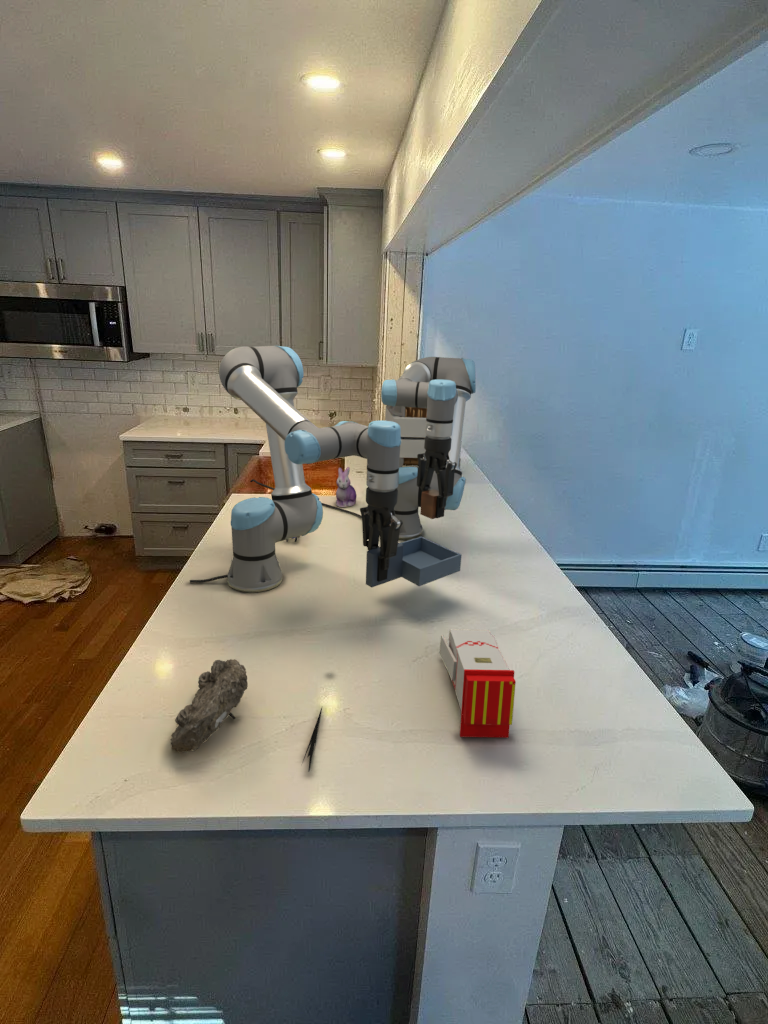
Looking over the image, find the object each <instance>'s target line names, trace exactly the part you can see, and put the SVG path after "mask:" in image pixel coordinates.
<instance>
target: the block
mask: <svg viewBox="0 0 768 1024" xmlns="http://www.w3.org/2000/svg"><path fill="white" fill-rule="evenodd" d="M438 495H439V491H438V490H435V489H432V490H428V491H424V492H422V497H421V507H420V511H419V514H420V515H421V516H423V517H425V518H428V519H431V520H434V519H435V520H436V518H435V515H436V502H437V496H438ZM444 511H446V510H445V507H444Z"/></svg>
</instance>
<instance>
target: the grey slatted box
mask: <svg viewBox="0 0 768 1024" xmlns="http://www.w3.org/2000/svg"><path fill="white" fill-rule="evenodd" d="M384 414H385V416H384V421H392V422H396V423H398V424H399V425H400V428H401V445H400V458H399V468H400V467H416V466H417V467H418V457H417V455H418V454H421V453H425V451H426V450H425V449H424V443H425V437H426V436H427V435H426V434H425V430H426V418H427V408H416V407H401V406H394V407H393V406H389V405H385V413H384ZM463 431H464V430H463ZM463 431H462V433H463ZM462 443H463V442H462V440H461V444H462ZM461 452H462V447H461V448H460V455H461ZM461 462H462V458H461V456H460V457H459V466H458V467H459V469H460V470H461Z"/></svg>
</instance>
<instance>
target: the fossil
mask: <svg viewBox="0 0 768 1024" xmlns="http://www.w3.org/2000/svg"><path fill="white" fill-rule="evenodd" d="M197 683H198V684H197V687H198V690H197V691H196V693H195V694H194V697H193V698H192V701H191V704H187V705H185V706H184V707H183V708H182V709H181V710H179V712H178V713H177V715H176V717H175V719H174V721H175V723H176V725H177V726H176V728H175V730H174V731H173V732H172V733H171V735H170V736H171V738H170V747H171V750H172V751H176V752H178V753H186V752H190V751H193V752H195V751H197V750H198V749H199V748H200V747H201V746H202V745H203V744H204V743H205V742H207V741H208V740H209V739H210V737H211V736H212V735H213V734H215V733H216V731H218V730H219V729H220V728H221V726H222V725H223V723H224V721H225V720H226V719H227V718H228V717H230V718H232V720H235V719H236V716H235V715H234V714H233V713H232V710H233V709H235V708H237V706H238V705H239V704H240V702H241V700H242V698H243V696H244V693H245V691H246V690H247V689H248V686H249V685H248V675H247V669H246V668H245V666H244V665H243V664H241V663H240V661H238V660H237V659H236V658H234V659H232V658H230V659H226V660H221V659H216V660H214V661H213V662H212V665H211V667H210V671H208V670H207V671H205V672H201V674H200V675H199V676H198V681H197Z"/></svg>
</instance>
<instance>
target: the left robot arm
mask: <svg viewBox="0 0 768 1024" xmlns="http://www.w3.org/2000/svg"><path fill="white" fill-rule="evenodd" d="M218 375H219V376H218V377H219V380H220V383H221V385H222V387H223V389H224V390H225V391H226V393H228V394H229V396H231V397H232V398H233V399H234V400H238V401H242V402H243V403H244V404H245V405H246V406H247V407H248V408H249V409H250V410H251V411H252V412H253V413H254V414H256V415H257V416H258V417H259V418H260V420H262V421H263V423H265V427H266V434H267V440H268V447H269V453H270V461H271V466H272V473H273V480H274V486H275V487H274V488H275V489H274V490H272V492H271V493H270V495H271V498H269V497H264V496H258V497H249V498H246V499H243V500H241V501H239V502H236V504H235V505H234V506H233V507H232V509H231V512H230V527H231V543H232V544H231V545H232V558H231V559H232V560H231V562H230V565H229V569H228V572H227V574H224V575H218V576H215V577H210V578H205V579H190V580H189V584H202V583H209V582H214V581H218V580H222V579H227V585H228V586H229V587H230V588H231V589H233V590H236V591H238V592H242V593H261V592H266V591H269V590H273V589H275V588H277V587H278V586H280V584H282V582H283V571H282V567H281V564H280V563H281V562H280V560H279V559H278V558H277V554H276V543H279V542H283V541H286V540H287V539H289V540H290V539H292V538H293V539H295V538H294V537H298V536H300V537H303V536H304V537H305V536H307V535H309V534H312V533H314V532H316V531H317V530H318V529H319V528H320V526H321V524H322V521H323V518H324V517H323V516H324V510H323V505H322V504H321V503H322V501H321V500H320V497H319V496H318V495H317V494H316V493H313V492H312V487H310V486H309V485H308V484H307V483H306V479H305V478H306V477H305V472H304V466H303V465H311V464H314V463H319V462H325V461H329V460H336V459H342V458H347V457H352V456H353V457H354V456H355V457H359V458H363V459H365V460H366V486H367V487H366V488H365V503H366V504H367V506H363V507H360V508H359V511H360V515H361V516H362V518H361V528H362V531H361V532H362V545H363V547H366V548H367V551H369V550H372V549H376V548H379V547H380V555H379V556H378V570H377V581H378V582H380V581H383V580H385V579H387V574H388V569H389V559H390V557H393V556H396V553H397V546H398V543H399V541H400V540H399V533H400V528H401V526H402V524H403V522H402V520H399V521H398V520H397V518H396V517H395V511H394V507H395V505H396V504H397V497H398V490H397V487H398V481H399V458H400V445H401V428H400V425H399V424H398V423H396V422H392V421H385V419H384V420H372V421H371V422H369V423H368V425H365V424H361V423H359V422H356V421H347V420H341V421H339V422H338V423H336V424H335V425H333V426H325V427H318V426H316V425H315V424H314V423H313V422H312V421H310V419H308V417H306V416H305V415H304V414H303V413H302V412H301V411H299V410H298V409H297V408H296V407H295V402H294V400H295V398H296V397H297V395H298V392H299V391H298V388H299V387H300V386H301V385H302V383H303V379H304V376H305V375H304V366H303V363H302V360H301V358H300V356H299V355H298V353H297V352H295V350H294V349H292V348H291V347H288V346H282V345H281V346H280V345H260V346H259V345H258V346H253V345H252V346H246V345H245V346H243V345H242V346H238V347H235V348H233V349H231V350H229V351H228V352H227V353H226V354H225V355H224V356H223V358H222V359H221V361H220V364H219V368H218Z"/></svg>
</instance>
